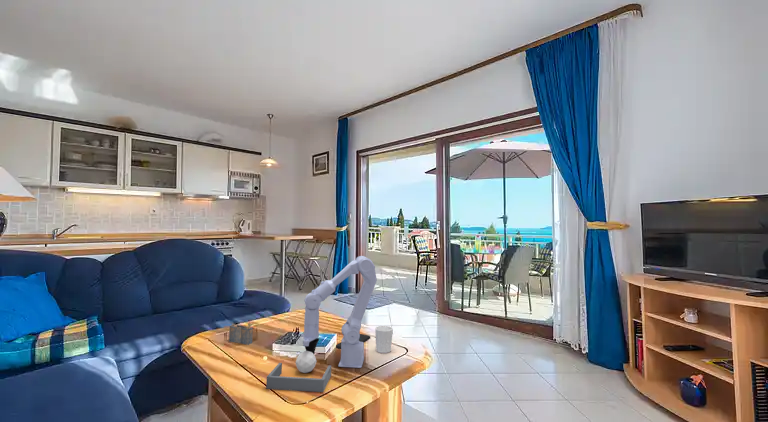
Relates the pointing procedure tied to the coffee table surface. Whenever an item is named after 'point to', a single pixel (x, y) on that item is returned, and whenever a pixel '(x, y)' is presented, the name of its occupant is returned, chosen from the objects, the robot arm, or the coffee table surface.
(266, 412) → the coffee table surface
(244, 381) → the coffee table surface
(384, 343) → the white cup
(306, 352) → the geometric ball
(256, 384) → the coffee table surface
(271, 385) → the box
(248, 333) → the ruin model on sheet
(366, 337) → the smart home device
